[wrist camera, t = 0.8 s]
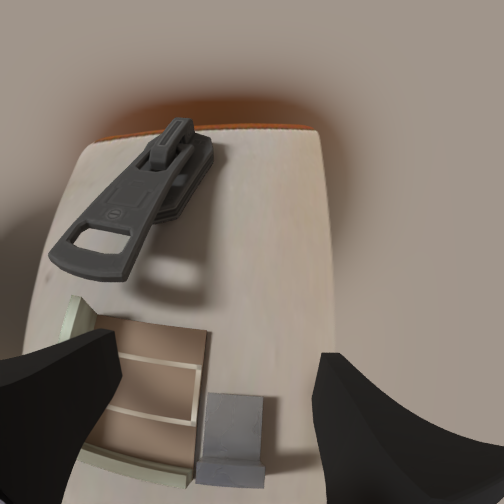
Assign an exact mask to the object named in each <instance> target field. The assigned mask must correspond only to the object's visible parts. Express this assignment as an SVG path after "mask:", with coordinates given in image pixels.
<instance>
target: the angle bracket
mask: <svg viewBox="0 0 504 504" xmlns="http://www.w3.org/2000/svg"><path fill="white" fill-rule="evenodd" d="M262 410H263V397H258V396H241V395H229V394H218V393H208V396H207V407H206V418H205V430H204V442H203V455H202V457H201V458H200V459H199V460H198V461H197V467H196V482H195V484H203V485H212V486H222V487H236V488H264V481H265V466H264V465H263V464H262V463H261V462H260V448H261V430H262Z"/></svg>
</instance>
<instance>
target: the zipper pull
mask: <svg viewBox="0 0 504 504" xmlns="http://www.w3.org/2000/svg"><path fill="white" fill-rule="evenodd" d="M212 164H213V146H212V142H211V138H210V137H207V136H204V135H201V134H198V133H195V131H194V125H193V121H192V119H190V118H174V120H173V121H172V122H171V123H170V124H169V125H168V127H167V128H166V129H165V130H164V132H163V133H162V134H161V135H159V136H158V137H156V138H155V139H153V140H151V141H150V142H149V143H148V144H147V146H146V148H145V149H144V151H143V152H142V153H141V154H140V155H139V156H138V157H137V158H136V159H135V160H134V161H133V162H132V163H131V164H130V165H129V166H128V167H127V168H126V169H125V170H124V171H123V172H122V173H121V174H120V175H119V176H118V177H117V178H116V179H115V180H114V181H113V182H112V183H111V184H110V185H109V186H108V187H107V188H106V189H105V190H104V191H103V192H102V193H101V194H100V195H99V196H98V197H97V198H96V199H95V200H94V201H93V202H92V203H91V204H90V206H89V207H88V208H87V209H86V210H85V211H84V212H83V213H82V214H81V215H80V216H79V218H78V219H77V220H76V221H75V222H74V223H73V224H72V225H71V226H70V227H69V229H68V230H67V231H66V232H65V233H64V235H63V236H62V237H61V238H60V239H59V241H58V242H57V243H56V244H55V246H54V247H53V248H52V249H51V251H50V252H49V253H48V257H49V259H50V260H51V262H52V263H54V264H55V265H56V266H57V267H59V268H60V269H61V270H63V271H65V272H67V273H70V274H72V275H75V276H78V277H81V278H84V279H88V280H94V281H99V282H125V281H126V280H127V279H128V277H129V274H130V272H131V270H132V268H133V265H134V263H135V261H136V258H137V256H138V254H139V252H140V250H141V248H142V245H143V243H144V241H145V238H146V236H147V234H148V231H149V229H150V227H151V225H152V224H158V223H162V222H166V221H170V220H174V219H177V218H178V217H179V216H180V214H181V212H182V211H183V209H184V207H185V206H186V204H187V203H188V201H189V199H190V198H191V196H192V194H193V193H194V191H195V190H196V188H197V186H198V185H199V183H200V182H201V180H202V179H203V177H204V175H205V174H206V173H207V171H208V170H209V168H210V167H211V165H212ZM88 228H92V229H98V230H103V231H108V232H113V233H118V234H123V235H127V236H131V237H130V239H129V241H128V242H127V244H126V246H125V247H124V249H123V251H122V252H121V253H119V254H104V253H99V252H95V251H91V250H87V249H83V248H79V247H77V246H75V245H74V244H73V243H74V242H75V241H76V239H77V238H78V236H79V235H80V234H81V232H83V231H85V230H87V229H88Z"/></svg>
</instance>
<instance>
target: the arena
mask: <svg viewBox="0 0 504 504" xmlns="http://www.w3.org/2000/svg"><path fill="white" fill-rule="evenodd" d="M99 328H103V329H108V330H113V331H115V337H116V343H117V349H118V354H119V360H120V365H121V370H122V375H123V377H122V379H121V381H120V384H119V386H118V388H117V390H116V392H115V394H114V397H113V398H112V400H111V401H110V403H109V405H108V406H107V408H106V409H105V411H104V412H103V414H102V415H101V417H100V418H99V420H98V421H97V423H96V425H95V426H94V428H93V429H92V431H91V432H90V434H89V435H88V437H87V439H86V440H85V442H84V444H83V446H82V448H81V450H80V452H79V455H78V457H77V459H76V460H78V461H81V462H84V463H86V464H89V465H92V466H95V467H98V468H101V469H104V470H107V471H110V472H113V473H116V474H120V475H123V476H127V477H131V478H134V479H138V480H142V481H147V482H151V483H155V484H160V485H165V486H170V487H176V488H182V489H186V488H187V486H188V485H189V484H190V483H191V481H192V480H193V472H194V458H195V445H196V433H197V422H198V411H199V401H200V391H201V381H202V372H203V363H204V354H205V345H206V337H207V330H199V329H190V328H182V327H174V326H166V325H159V324H152V323H145V322H138V321H132V320H126V319H120V318H114V317H108V316H103V315H98V314H97V313H96V312H95V311H94V310H93V309H92V308H91V307H90V306H89V305H88V304H87V303H86V301H85V300H84V299H83V298H82V297H79V296H74V295H72V296H71V299H70V302H69V305H68V308H67V312H66V315H65V318H64V322H63V325H62V329H61V332H60V336H59V340H58V343H61V342H63V341H66V340H68V339H71V338H73V337H76V336H78V335H81V334H84V333H86V332H89V331H92V330H95V329H99Z"/></svg>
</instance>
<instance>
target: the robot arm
mask: <svg viewBox="0 0 504 504" xmlns="http://www.w3.org/2000/svg"><path fill="white" fill-rule="evenodd" d="M122 377H123V375H122V370H121V365H120V360H119V354H118V349H117V343H116V337H115V331H113V330H108V329H103V328H99V329H95V330H92V331H89V332H86V333H84V334H81V335H78V336H76V337H73V338H71V339H68V340H66V341H63V342H61V343H58V344H55V345H53V346H50V347H47V348H44V349H41V350H38V351H35V352H32V353H29V354H26V355H22V356H19V357H14V358H9V359H5V360H0V504H61V503H62V499H63V496H64V492H65V489H66V486H67V482H68V480H69V477H70V474H71V472H72V469H73V466H74V464H75V461H76V459H77V457H78V455H79V452H80V450H81V448H82V446H83V444H84V442H85V440H86V439H87V437H88V435H89V434H90V432H91V431H92V429H93V428H94V426H95V425H96V423H97V421H98V420H99V418H100V417H101V415H102V414H103V412H104V411H105V409H106V408H107V406H108V405H109V403H110V401H111V400H112V398H113V397H114V394H115V392H116V390H117V388H118V386H119V384H120V381H121V379H122ZM312 411H313V423H314V428H315V432H316V437H317V442H318V446H319V451H320V456H321V461H322V465H323V470H324V476H325V482H326V495H327V504H497V503H498V502H499V501H500V500H501V499H502V498H503V497H504V446H499V445H493V444H488V443H483V442H479V441H475V440H472V439H469V438H466V437H463V436H460V435H457V434H455V433H452V432H449V431H447V430H444V429H443V428H440V427H438V426H436V425H434V424H432V423H430V422H428V421H426V420H424V419H422V418H420V417H419V416H417V415H415V414H414V413H412V412H410V411H409V410H407V409H406V408H404V407H403V406H401V405H400V404H398V403H397V402H396V401H394V400H393V399H392V398H390V397H389V396H388V395H386V394H385V393H384V392H382V391H381V390H380V389H379V388H377V387H376V386H375V385H374V384H373V383H372V382H371V381H369V380H368V379H367V378H366V377H365V376H364V375H363V374H362V373H361V372H360V371H359V370H357V369H356V368H355V367H354V366H353V365H352V364H351V363H350V362H349V361H348V360H347V359H346V358H345V357H344V356H342V355H341V354H340V353H321V358H320V363H319V368H318V372H317V377H316V382H315V386H314V390H313V395H312Z"/></svg>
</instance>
